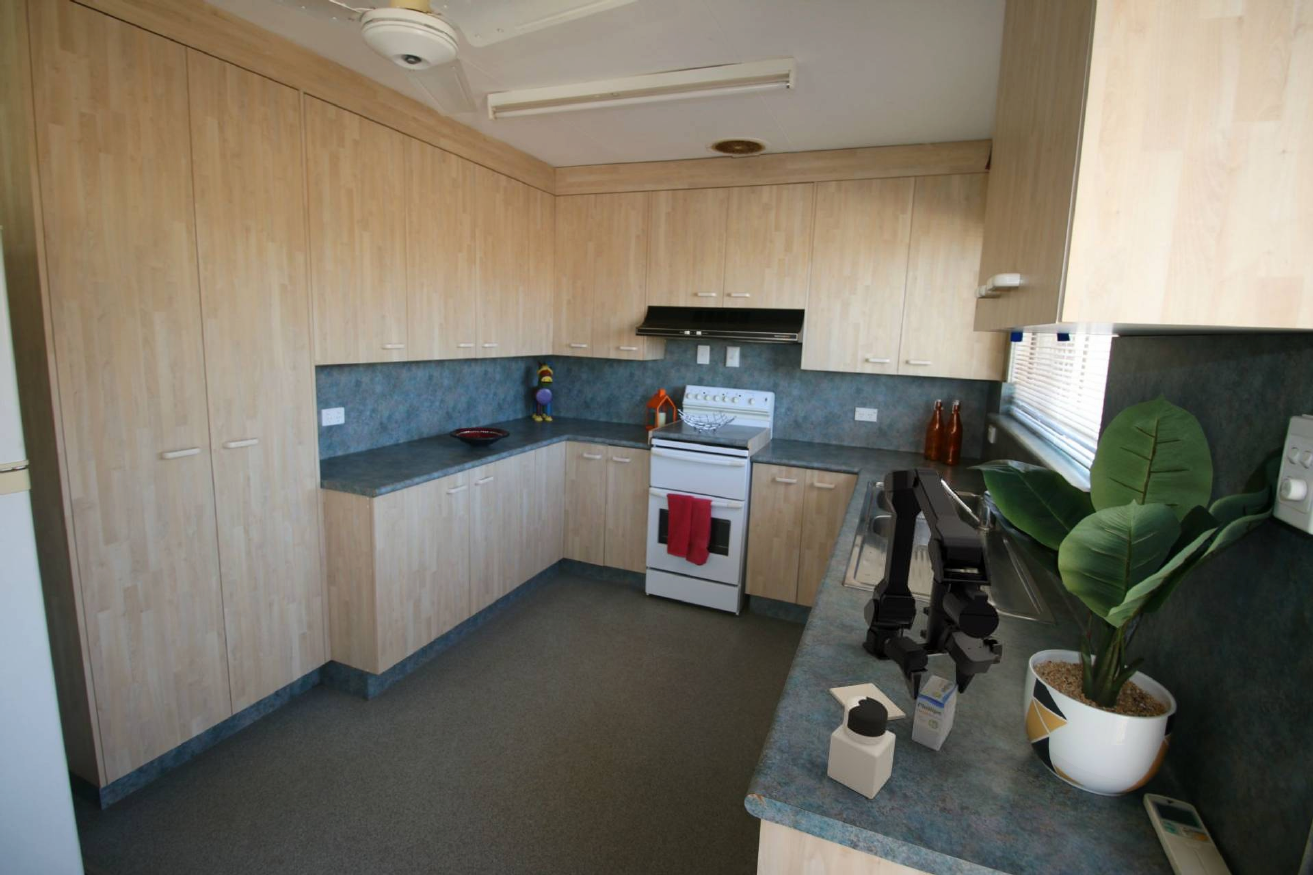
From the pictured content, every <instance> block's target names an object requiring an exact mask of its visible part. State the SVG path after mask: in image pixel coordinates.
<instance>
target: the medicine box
mask: <svg viewBox="0 0 1313 875" xmlns="http://www.w3.org/2000/svg"><path fill="white" fill-rule="evenodd" d="M958 693H959V692H958V684H956V682H953V681H951V680H948V679H946V678H943V677H940V676H937V675H934V674H933V675H931V676H930V677H929V678H928V680H927V681H926V683H925V684H924V685H923V686H922V687H921V689H920V690H919V693H918V697H917V700H916V704H915V711H914V718H913V726H912V734H911V740H912V741H915V742H916V743H919V744H920V745H923V746H925V747H927V748H930V749H932V750H935V751H936V752H939V751H940V750H941V747H942V745H943V744H944V742H945V740H946V738H947V737H948V735H949V733H950V732H951V730H952V729H953V724H954V718H955V709H956V705H957V699H958Z"/></svg>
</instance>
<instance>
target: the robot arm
mask: <svg viewBox="0 0 1313 875" xmlns="http://www.w3.org/2000/svg"><path fill="white" fill-rule="evenodd" d="M883 490H884V497H885V499H886V501H887V503H888V506H889V507H890V509H891V515H890V522H889V523H890V524H889V530H888V538H887V548H886V555H885V562H884V563H885V564H884V571H883V578H881V580H880V581H879V582H878V583H877V584H876V585H875V587H874V588H873V592H872V597H871V598H870V599H869V601H868V602H867V603H866V605H865V606H864V607H863V618H864V620H865V622H866V624H867V625H868V628H867V630H866V637H865V641H863V642H862V646H863V647H864V648H865V649H867V651H869V652H870V653H871V654H872V655H874V656H875V657H876V658H877V659H878V660H882V661H884V660H889V659H890V660H892V661H893V662H894V663H895V664H897V665H898V667H899V669H900V671H901V673H902V676H903V679H904V683H905V685H906V687H907V690H908V694H909V696H910V698H911V699H912V700H913V701H917V697H918V693H919V692H920V687H921V686H920V685H921V680H922V675H923V674H925V673H928V671H929V670H928V669H927V668H926V666H927V665H928V664H929V657H937V656H944V655H949V657H950V658H951V659H952V661H954V663H955V684H958V693H960V694H964V693H965V691H966V689H967V688H968V686H969V685H970V683H971V681H972V680H973V678H974V676H976V674H987V673H988V671H989V670H990V668H991V666H992V665H999V664H1000V663H1001V659H1002V655H1003V643H1002V641H1001V640H1000V639H999V638H998V637H993V636H992V634H993V633H994V632H996V630H997V628H998V627H999V623H1000V617H999V613H998V611H997V609H996V607H994V605H992V603H990V601H989V594H988V592H986V591H984V590H983V589H981V588H982V587H991V586H992V579H991V576H993V571H992V567H991V563H990V560H989V556H988V552H987V549H986V546H985V543H984V542H983V541H982V539H981V537H980V536H979V534H978V532H976V530H975V528H973V526H971V525H970V524H968V523H966V522H965V521H962V520H961V518H960V517H959V516H958V515H959V514H958V513H957V511H956V509H955V507H954V505H953V503H952V501H951V499H950V497H949V494H948V492H947V491H946V489H945V486H944V485H943V482H942V473H941V471H940V470H937V469H936V468H924V467H913V468H910V469H901V468H900V469H898V468H896V469H895V468H893V469H890V471H889V472H887V473H886V474H885V475H884V477H883ZM921 512H922V514H923V517H924V519H925V522H926V524H927V526H928V529H929V531H930V537H929V540H928V543H927V553H928V558H929V561H930V563H931V567H930V570H931V571H932V572H933V578H932V584H931V592H930V599H929V605H928V606H923V610H922V613H923V614H924V615H925V616H927V623H926V629H921V630H920V633H919V634H920V635H919V636H920V637H921V638H922V639H924V640H925V643H917V642H916V641H914V640H913V639H912V638H910V637H909V636H908V635H906V636H904V630H908V631H911V630H912V627H913V626H914V622H915V618H916V615H917V612H918V609H917V608H916V603H917V601H916V599H915V597H914V595H913V593H912V591H911V589H910V587H909V579H910V570H911V562H912V556H913V549H914V541H915V540H914V539H915V535H916V534H915V533H916V524H917V518H918V516H919V515H920V513H921ZM961 570H966V571H967V570H968V571H976V570H977V572H968V571H967V572H965V571H961Z"/></svg>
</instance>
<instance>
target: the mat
mask: <svg viewBox="0 0 1313 875" xmlns="http://www.w3.org/2000/svg"><path fill="white" fill-rule="evenodd" d="M829 693H830V694H831V695H832V696H833V697H834V698H835V699H836V700H837V701H838V703H839V704H840V705H841V706H842V707H843V708H844V709H845V703H846V701H847V700H848V699H850V698H851V697H855V696H865V697H870V698H873V699H875V700H877V701H879V702H880V703H882V704H883V705H884V706H885V708H886V709H887V711H888V719H887V722H888V721H893V720H899V719H906V717H907V714H905V712H904V711H902V710H901V709H900V708H899V707H898V706H897V705H896V704H895V703H894V702H892V701H891V700H890V698H889V697H888V696H886V695H885V694H884V693H883V692H882V691H881V690H880V689H879V688H878V687H876V686H875V684H873V683H872V682H870V683H863V684H862V683H861V684H856V685H854V684H853V685H849V686H840V687H834V688H829Z"/></svg>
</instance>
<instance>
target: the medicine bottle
mask: <svg viewBox="0 0 1313 875" xmlns="http://www.w3.org/2000/svg"><path fill="white" fill-rule="evenodd" d="M887 719H888V711H887V709H886V708H885V706H884V705H883V704H882V703H880V702H879V701H877V700H875V699H873V698H870V697H865V696H855V697H851V698H850V699H848V700H847V701H846V703H845V708H844V714H843V722H842V723H841V724H840V725H839V726H838V727H837V728H836V729H835V730H834V731H833V732H832V733H831V734H830V745H829V752H828V764H827V773H826V774H827V776H828V777H829V778H830V779H833V780H834V781H835V782H836V781H837V782H838V783H839V784H842V785H844V786H845V787H847V788H849V789H851V790H853V791H855V792H857V793H858V794H861V795H862V796H864V797H866V798H867V799H870V800H872V799H874V798H875V796H876V795H877V793H878V792H879V791H880V790H881V789H882V788H883V786H884V784H886V782H887V781H888V780H889V779H890V777H891V776H892V769H893V768H892V767H893V762H894V761H893V760H894V753H895V745H896V737H897V736H896V734H895V733H893V732H891V731H889V730H887V725H888V721H887Z"/></svg>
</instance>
